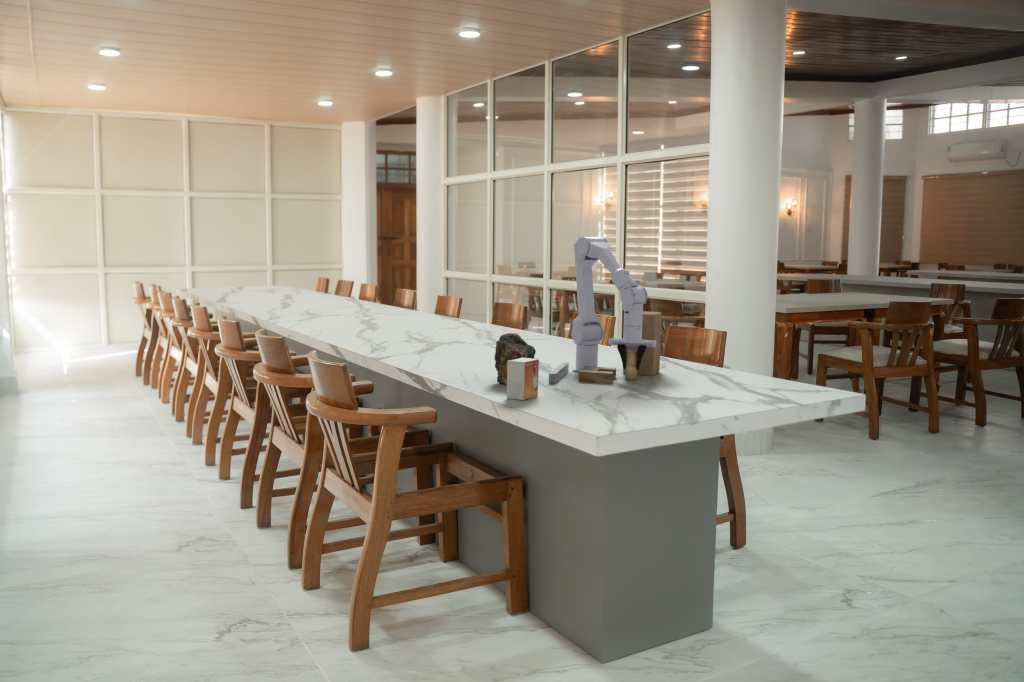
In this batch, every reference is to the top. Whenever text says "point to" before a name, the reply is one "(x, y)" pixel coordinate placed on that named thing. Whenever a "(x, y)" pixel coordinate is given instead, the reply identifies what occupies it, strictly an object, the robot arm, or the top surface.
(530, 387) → the small box
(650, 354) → the wooden block
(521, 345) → the rock
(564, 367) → the rail
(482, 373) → the top surface
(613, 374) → the block
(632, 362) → the dowel
